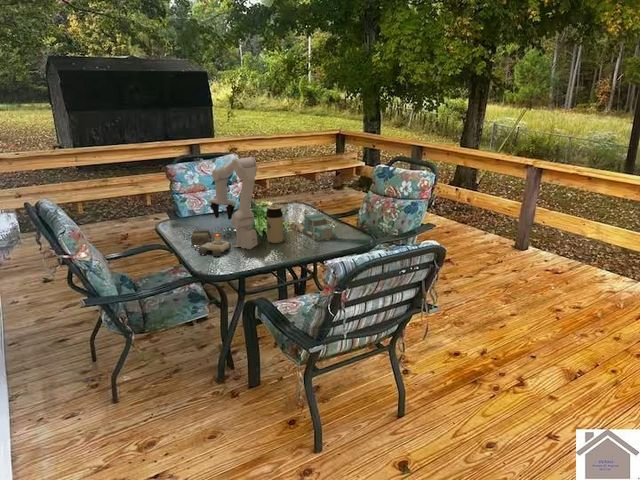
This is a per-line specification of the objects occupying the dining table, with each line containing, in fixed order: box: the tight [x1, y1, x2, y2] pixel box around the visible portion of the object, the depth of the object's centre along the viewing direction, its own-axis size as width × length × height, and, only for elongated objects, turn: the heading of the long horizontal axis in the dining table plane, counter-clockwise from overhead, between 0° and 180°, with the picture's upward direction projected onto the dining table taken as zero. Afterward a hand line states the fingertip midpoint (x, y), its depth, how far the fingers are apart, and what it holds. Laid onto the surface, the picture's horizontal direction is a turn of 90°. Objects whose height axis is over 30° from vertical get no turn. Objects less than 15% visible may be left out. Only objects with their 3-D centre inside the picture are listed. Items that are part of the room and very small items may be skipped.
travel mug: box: [265, 204, 284, 244], centre depth 236 cm, size 8×8×18 cm
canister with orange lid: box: [213, 232, 223, 246], centre depth 220 cm, size 3×3×6 cm
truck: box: [290, 207, 338, 243], centre depth 248 cm, size 12×29×15 cm, turn 31°
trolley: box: [194, 240, 232, 257], centre depth 223 cm, size 17×10×5 cm, turn 68°
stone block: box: [190, 229, 213, 247], centre depth 237 cm, size 9×14×5 cm, turn 8°
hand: (223, 218), depth 243 cm, fingers open, 7 cm apart
